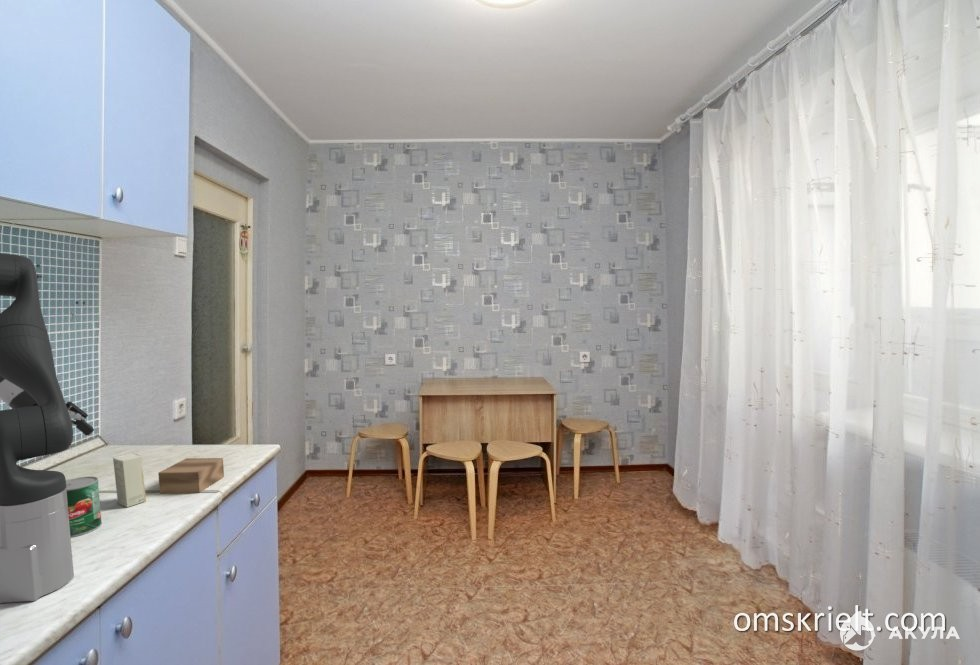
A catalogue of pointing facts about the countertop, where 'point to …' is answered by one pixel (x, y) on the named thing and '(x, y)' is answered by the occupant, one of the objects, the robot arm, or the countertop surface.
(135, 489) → the skincare box
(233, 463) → the countertop surface
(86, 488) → the canned tomato
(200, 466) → the walnut block
